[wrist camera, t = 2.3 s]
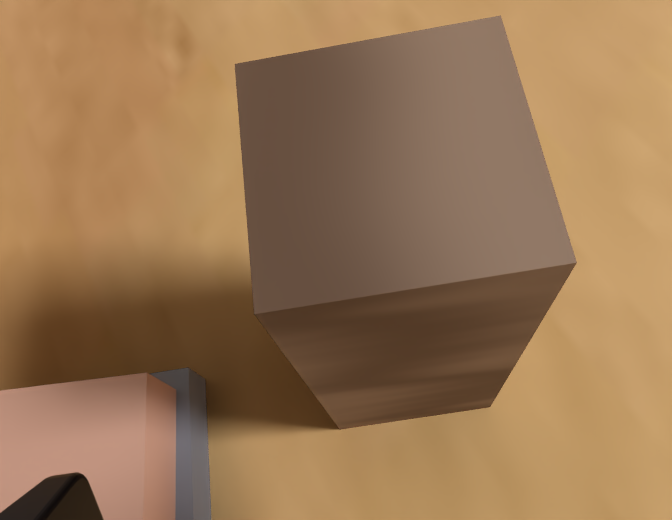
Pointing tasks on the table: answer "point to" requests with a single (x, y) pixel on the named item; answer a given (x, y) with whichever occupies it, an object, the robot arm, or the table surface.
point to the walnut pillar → (399, 219)
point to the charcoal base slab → (190, 444)
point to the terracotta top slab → (94, 442)
